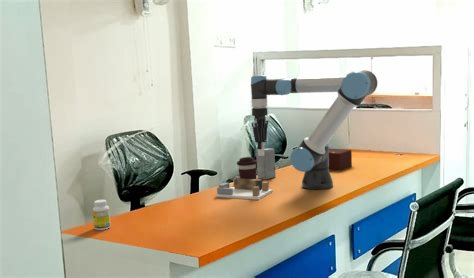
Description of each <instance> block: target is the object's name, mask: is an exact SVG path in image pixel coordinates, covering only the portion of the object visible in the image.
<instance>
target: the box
mask: <svg viewBox="0 0 474 278" xmlns="http://www.w3.org/2000/svg"><path fill="white" fill-rule="evenodd" d="M352 153H353V151H352V149H344V148H330V147H329V171H338V172H339V171H343V170H345V169H349V168H351V167H353V162H352V161H353V160H352V159H353V157H352V156H353V155H352Z"/></svg>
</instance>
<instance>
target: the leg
mask: <svg viewBox="0 0 474 278" xmlns="http://www.w3.org/2000/svg"><path fill="white" fill-rule="evenodd" d="M235 178H236V177H235ZM233 179H234V178H233ZM262 182H263V179H261V178H256V179H241V178H240V177H237V178H236V179H234V186H233V187H234V188H235V189H251V190H252V187H254V186H258V187H259V190H261V189H262Z"/></svg>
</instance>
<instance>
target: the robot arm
mask: <svg viewBox="0 0 474 278" xmlns="http://www.w3.org/2000/svg"><path fill="white" fill-rule="evenodd" d="M378 84H379V83H378V79H377V76H376V75H375V74H374V73H373V72H372V71H371V70H367V69H366V70H365V69H364V70H354V71H351V72H348V73H347V74H346V75H345V74H344V75H326V76H305V77H304V76H303V77H302V76H301V77H286V78H285V77H284V78H273V79H268V78H267V76H266V75H265V74H263V75H262V74H260V75H252V76H251V77H250V90H251V91H250V92H251V107H252V108H251V115H252V116H253V117H254V118H253V119H254V120H253V121H254V122H252V123H251V127H252V131H253V137H254V142H255V143H257V150H258V156H264V149H265V143H266V142H267V138H268V126H269V122H270V121H269V120H267V119H266V116H268V96H286V95H289V94H306V93H310V94H311V93H337V97H336V99H335V100H334V101H333V103H332V104H331V106H330V107H329V108H328V110H327V112H326V113H325V114H324V115H323V117H322V118H321V120H320V121H319V123H318V124H317V126H316V127H315V128H314V130H313V131H312V132H311V134H310V135H309V136H308V137H306V136H305V137H304V138H303V140H302V141H301V142H300V144H299V145H298V146H297V147H295V148H294V149H293V150H292V151H291V153H290V158H289V159H290V163H291V165H292V167H293V168H294V169H295V170H297V171H299V172H301V173H302V172H304V174H303V178H302V181H301V187H302V188H304V189H308V190H325V189H331V188H332V187H334V181H333V178H332V175H331V173H330V170H329V148H330V146H329V142H330V141H331V139H332V138H333V137H334V135H335V134H336V132H337V131H338V130H339V128H340V127H341V126H342V124H343V123H344V122H345V120H346V119H347V118H348V116H349V115H350V113H351V112H352V111H353V109H354V108H357V107H360V105H361V104H362V103H363V101H364V100H365V98H366V97H368V96H371V95H372V94H373V93H374V92H375V91H376V90H377V87H378Z"/></svg>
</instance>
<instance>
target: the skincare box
mask: <svg viewBox="0 0 474 278" xmlns="http://www.w3.org/2000/svg"><path fill="white" fill-rule="evenodd" d="M255 153H256V160H257V164H256V177H257V179H262V180H269V179H273V178H276V158H275V148H267V147H266V148H264V156H258V149H256V150H255Z"/></svg>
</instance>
